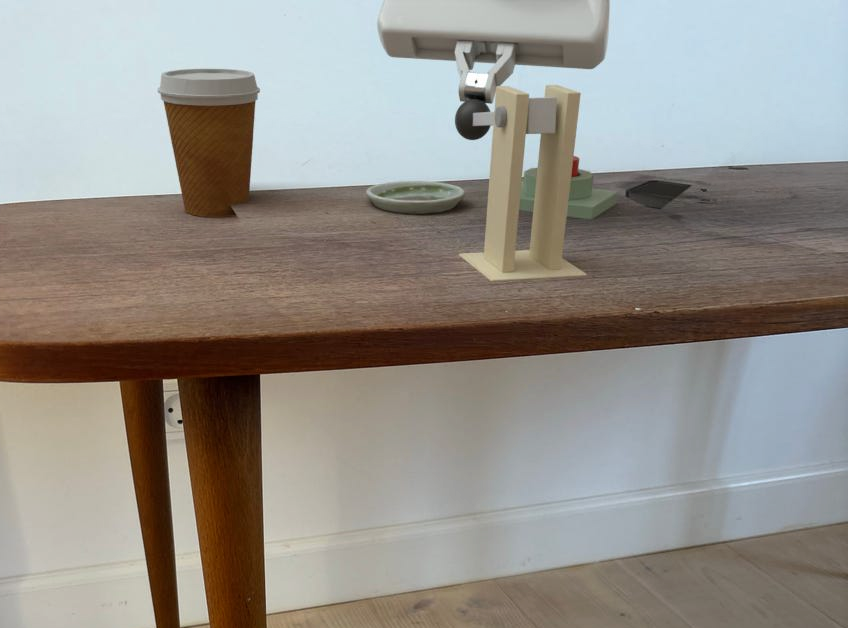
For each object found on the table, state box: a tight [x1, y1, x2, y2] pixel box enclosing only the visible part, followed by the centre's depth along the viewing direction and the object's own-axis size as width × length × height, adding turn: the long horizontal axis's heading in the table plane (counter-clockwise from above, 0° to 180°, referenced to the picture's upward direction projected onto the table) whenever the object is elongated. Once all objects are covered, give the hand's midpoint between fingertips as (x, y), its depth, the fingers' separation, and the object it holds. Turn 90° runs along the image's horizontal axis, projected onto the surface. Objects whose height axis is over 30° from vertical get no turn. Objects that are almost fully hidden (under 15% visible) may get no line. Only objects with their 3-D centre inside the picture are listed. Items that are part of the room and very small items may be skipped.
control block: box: [519, 167, 619, 220], centre depth 103 cm, size 10×8×4 cm
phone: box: [624, 179, 693, 209], centre depth 108 cm, size 8×1×15 cm
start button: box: [571, 155, 580, 177], centre depth 102 cm, size 4×4×2 cm
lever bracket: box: [458, 84, 588, 283], centre depth 82 cm, size 8×8×14 cm
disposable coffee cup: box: [157, 68, 261, 218], centre depth 101 cm, size 10×10×12 cm
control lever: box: [454, 96, 557, 141], centre depth 85 cm, size 17×3×3 cm, turn 14°
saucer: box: [365, 180, 466, 215], centre depth 103 cm, size 10×10×2 cm
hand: (475, 98), depth 91 cm, fingers closed, pressing on control lever
